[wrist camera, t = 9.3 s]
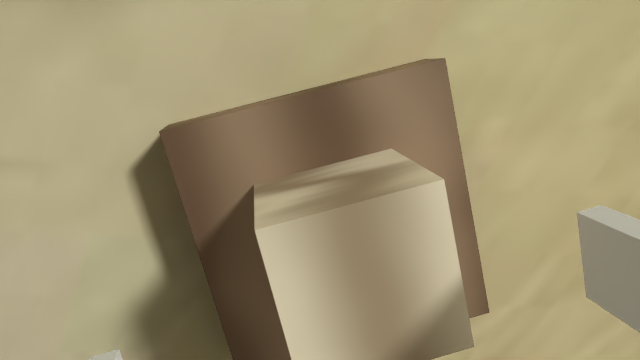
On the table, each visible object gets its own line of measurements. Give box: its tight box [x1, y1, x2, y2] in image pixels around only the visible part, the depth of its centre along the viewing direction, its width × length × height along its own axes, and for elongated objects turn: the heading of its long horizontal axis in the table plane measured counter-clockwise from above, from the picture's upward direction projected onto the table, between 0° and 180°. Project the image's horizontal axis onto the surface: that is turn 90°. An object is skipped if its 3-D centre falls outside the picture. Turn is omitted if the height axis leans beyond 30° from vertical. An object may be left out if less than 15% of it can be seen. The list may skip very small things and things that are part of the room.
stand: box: [159, 58, 489, 360], centre depth 23 cm, size 12×12×2 cm
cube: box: [254, 149, 474, 360], centre depth 19 cm, size 6×6×6 cm
